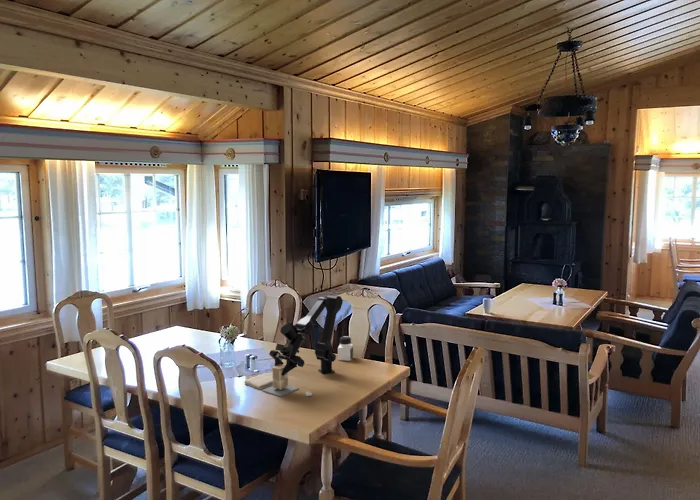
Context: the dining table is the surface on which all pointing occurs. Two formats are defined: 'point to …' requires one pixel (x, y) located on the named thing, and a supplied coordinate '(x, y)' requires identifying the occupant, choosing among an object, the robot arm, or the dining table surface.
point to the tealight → (308, 394)
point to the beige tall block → (279, 377)
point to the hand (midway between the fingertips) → (277, 374)
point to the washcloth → (260, 381)
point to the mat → (280, 392)
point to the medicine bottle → (345, 349)
